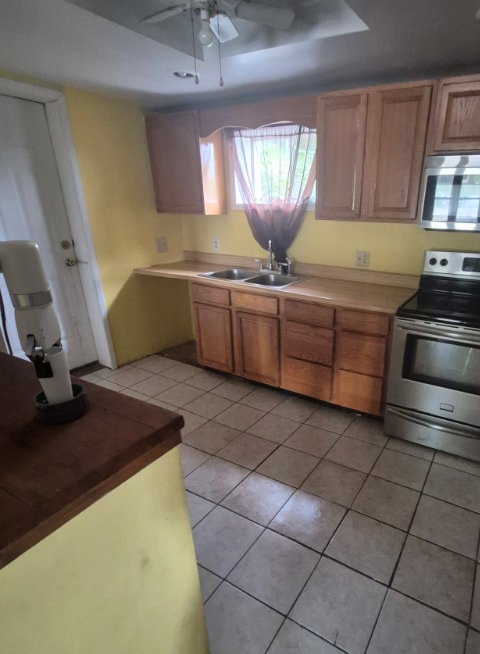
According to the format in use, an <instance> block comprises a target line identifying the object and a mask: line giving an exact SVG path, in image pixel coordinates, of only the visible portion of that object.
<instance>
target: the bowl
mask: <svg viewBox="0 0 480 654" xmlns="http://www.w3.org/2000/svg"><path fill="white" fill-rule="evenodd" d="M71 386H72V392H73V397H74V398H72V399H70V400H67V401H64V402H60V403H55V404H49V403H48V400H47V398H46V395H45V393H44V391H43V389H41V390H40V391H38V392H36V393H35V394H34V395H33V396H32V400H31V401H32V404H33V407H34V411H35V414H36V416H37V419H38V420H39V421H40V422H42V423H45V424H48V425H57V424H63V423H67V422H72V421H73V420H76V419H78V418H80V417H82V416H83V415H84V414H85V413H86V412H87V411H88V409H90V400H89V397H88V392H87V388H86V386H85V385H84V384H83V383H79V382H71Z"/></svg>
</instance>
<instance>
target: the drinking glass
mask: <svg viewBox="0 0 480 654" xmlns="http://www.w3.org/2000/svg"><path fill="white" fill-rule="evenodd" d="M40 349H42V348H41V347H40ZM36 354H37V355H40V356H41V357H42V352H36ZM67 358H68V357H67V355H66V352H65V348H64V347H63V346H62V347H58V346H53V347H50V348H49V349H47V361H50V364H51V368H52V371H53V375H54V376H53V377H52V378H43V379H39V378H37V379H38V381H39V384H40V386H41V389H42V390H43V391H44V393H45V395H46V398H47V400H48V403H49V404H55V403H60V402H64V401H67V400H70V399H72V398H74V397H73V392H72V386H71V383H72V381H71V380H72V379H71V374H70V368H69V361H68V359H67ZM32 365H33V364H32ZM33 369H34V372H35V373H36V371H35V368H34V365H33Z"/></svg>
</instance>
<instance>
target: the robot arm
mask: <svg viewBox="0 0 480 654" xmlns="http://www.w3.org/2000/svg"><path fill="white" fill-rule="evenodd" d="M0 274H2V276H3V279H4V283H5V285H6V288H7V293H8V295H9V299H10V302H11V305H12V308H13V313H14V314H13V315H14V321H15V328H16V332H17V336H18V341H19V344H20V347H21V350H22V351H23V352H24V355H25V357H26V358H28V360H29V361H30V362H31V364H32V365H34V366H33V369H34V368H35V369H34V372H35V371H36V372H35V374H36V377H37V379H38V378H39V379H43V378H52V377H53V376H54V375H53V371H52V368H51V364H50V361H47V349H49V348H50V347H53V346H58V347H62V348H63V343H62V341H61V340H62V331H61V327H60V323H59V320H58V316H57V314H56V310H55V308H54V305H53V304H54V298H53V295H52V291H51V287H50V284H49V280H48V276H47V271H46V268H45V265H44V261H43V256H42V253H41V250H40V246H39V245H38V244H37V243H36V242H35V241H33V240H29V239H11V240H4V241H3V240H2V241H1V240H0ZM36 348H37V349H36ZM41 348H42V349H41ZM36 352H42V357H41V356H40V355H37V354H36ZM39 379H38V380H39Z"/></svg>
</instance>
